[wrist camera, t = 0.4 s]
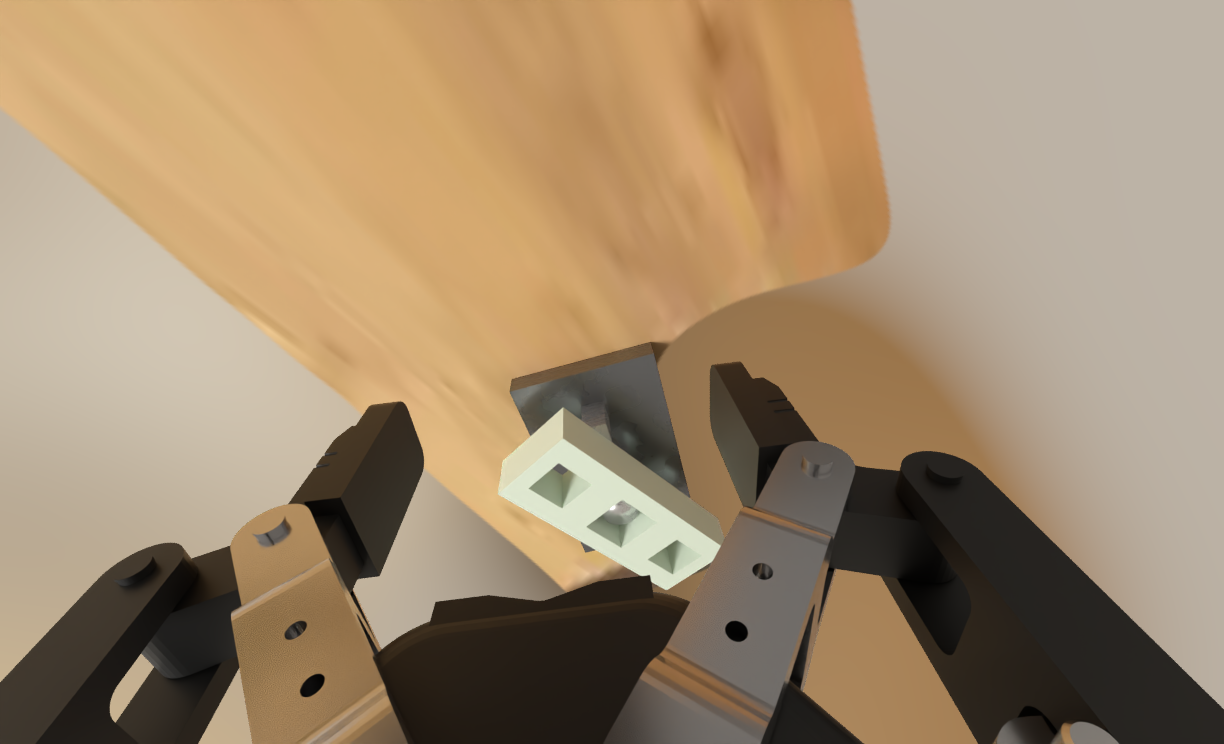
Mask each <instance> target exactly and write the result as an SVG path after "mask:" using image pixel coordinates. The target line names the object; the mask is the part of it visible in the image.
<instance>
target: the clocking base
mask: <svg viewBox="0 0 1224 744" xmlns="http://www.w3.org/2000/svg"><path fill="white" fill-rule="evenodd" d="M510 394H511V396H512V398H513V400H514V402H515V404H516V406H517V409H518V411H519V413H520V415H521V417H522V419H523V421H524V423H525V425H526V428H527V430H528V432H529V434H530V436H531V435H533V434H534V433H535V432H536V431H537V430H538V429H539V428H540V427H542V426H543V425H544V424H545V423H546V422H547V421H548V420H549V419H551V418H552V417H553V416H554V415H555V414H556V413H557V412H558V411H560V410H561V409H562V408H563V407H564V408H565V409H566V410H568V411H569V412H570V413H572V414H573V415H575V416H576V417H577V418H579V419H580V420H582V421H583V422H584V423H586V424H587V425H589V426H590V427H591V428H593V429H594V430H596V431H597V432H598V433H600V434H601V435H603V436H604V437H605V438H607V439H608V440H610V441H611V442H612V443H614V444H615V445H616V446H618V447H619V448H621V449H622V450H623V451H625V452H626V453H628V454H629V455H630V456H632V457H633V458H635V459H636V460H637V461H639V462H640V463H642V464H643V465H644V466H646V467H647V468H649V469H650V470H651V471H653V472H654V473H656V474H657V475H658V476H660V477H661V478H662V479H664V480H665V481H667V482H668V483H669V484H671V485H672V486H674V487H675V488H676V489H678V490H679V491H681V492H682V493H683V494H685V495H686V496H688V497H689V498H690V495H689V491H688V487H687V483H686V479H685V475H684V471H683V468H682V463H681V459H680V455H679V451H678V448H677V443H676V440H675V435H674V431H673V427H672V424H671V420H670V416H669V412H668V408H667V404H666V400H665V396H664V392H663V388H662V384H661V380H660V376H659V372H658V368H657V364H656V360H655V356H654V352H653V349H652V346H651V342H650V343H646V344H642V345H638V346H635V347H631V348H627V349H624V350H620V351H616V352H612V353H609V354H605V355H601V356H598V357H594V358H590V359H586V360H583V361H579V362H575V363H572V364H568V365H564V366H560V367H557V368H553V369H549V370H546V371H542V372H538V373H534V374H531V375H527V376H523V377H520V378H516V379H512V381H511V387H510ZM552 469H554V470H555V471H557V472H558V473H560V474H561V475H563V474H564V473H566V472H567V471H568V469H567V468H565V467H564V466H562V465H561V464H559V463H558V464H557V465H556V466H555V467H553V468H552ZM637 514H638V510H637V509H636V508H634V507H633V506H631V505H630V504H628V503H627V502H625V501H624V500H621V501H620V502H619V503H617V504H616V505H615V506H613V507H612V508H611V509H609V510H608V511H607V512H605V513H604V514H603V517H604V519H605V520H606V521H607V522H609V523H611V524H615V525H623V524H627V523H629V522H631V521H633V520H634V519H635V518H636V516H637ZM580 542H581V541H580ZM581 544H582V546H583V548H584V550H585V552H590V551H594V550H595V549H593V548H591V547H590V546H588V545H586V544H584V543H583V542H581Z"/></svg>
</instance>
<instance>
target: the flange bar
mask: <svg viewBox="0 0 1224 744" xmlns="http://www.w3.org/2000/svg"><path fill="white" fill-rule="evenodd" d="M558 463H559V464H561V465H562V466H564V467H565V468H567V469H568V471H567V472H566V473H564V474H563V475H561V474H560V473H558V472H557V471H555V470H554V469H552V468H553V467H555V466H556V465H557V464H558ZM498 495H500V496H502V497H503V498H505V499H507V500H509V501H510V502H512V503H514V504H516V505H517V506H519V507H521V508H523V509H525V510H526V511H528V512H530V513H532V514H533V515H535V516H537V517H539V518H540V519H542V520H544V521H546V522H547V523H549V524H551V525H553V526H554V527H556V528H558V529H560V530H561V531H563V532H565V533H567V534H568V535H570V536H572V537H574V538H575V539H577V540H579V541H581V542H583V543H584V544H586V545H588V546H590V547H591V548H593V549H595V550H597V551H598V552H600V553H602V554H604V555H605V556H607V557H609V558H611V559H612V560H614V561H616V562H618V563H619V564H621V565H623V566H625V567H626V568H628V569H630V570H632V571H633V572H635V573H637V574H639V575H641V576H646V575H650V577H651V582H653V583H655V584H656V585H658V586H660V587H662V588H664V589H665V590H667V589H669V588H671V587H672V586H674V585H676V584H677V583H679V582H680V581H682V580H683V579H685V578H687V577H688V576H690V575H691V574H693V573H694V572H696V571H698V570H699V569H701V568H702V567H704V566H706V565H707V564H709V563H710V562H712V561H713V559H714V558H715V556H716V554H717V552H718V550H719V548H720V547H721V545H722V543H723V541H724V536H723V533H722V530H721V527H720V524H719V521H718V518H717V517H715V516H714V515H713V514H711V513H710V512H708V511H707V510H706V509H704V508H703V507H701V506H700V505H699V504H697V503H696V502H694V501H693V500H692V499H690V498H689V497H688V496H686V495H685V494H683V493H682V492H681V491H679V490H678V489H676V488H675V487H674V486H672V485H671V484H669V483H668V482H667V481H665V480H664V479H662V478H661V477H660V476H658V475H657V474H656V473H654V472H653V471H651V470H650V469H649V468H647V467H646V466H644V465H643V464H642V463H640V462H639V461H637V460H636V459H635V458H633V457H632V456H630V455H629V454H628V453H626V452H625V451H623V450H622V449H621V448H619V447H618V446H616V445H615V444H614V443H612V442H611V441H610V440H608V439H607V438H605V437H604V436H603V435H601V434H600V433H598V432H597V431H596V430H594V429H593V428H591V427H590V426H589V425H587V424H586V423H584V422H583V421H582V420H580V419H579V418H577V417H576V416H575V415H573V414H572V413H570V412H569V411H568V410H566V409H565V408H564V407H563V408H562V409H561V410H560V411H558V412H557V413H556V414H555V415H554V416H553V417H552V418H551V419H549V420H548V421H547V422H546V423H545V424H544V425H543V426H542V427H540V428H539V429H538V430H537V431H536V432H535V433H534V434H533V435H531V436H530V437H529V438H528V439H527V440H526V441H525V442H524V443H522V444H521V445H520V446H519V447H518V448H517V449H516V450H515V451H513V452H512V453H511V454H510V455H509V456H508V457H507V458H506V459H504V460H503V464H502V471H501V477H500V483H499V489H498ZM621 500H624V501H625V502H627V503H628V504H630V505H631V506H633V507H634V508H636V509H637V510H638V514H637V516H636V518H635V519H634V520H633V521H631V522H629V523H627V524H623V525H615V524H611V523H609V522H607V521H606V520H605V519H604V517H603V514H604V513H605V512H607V511H608V510H609V509H611V508H612V507H613V506H615V505H616V504H617V503H619V502H620V501H621Z"/></svg>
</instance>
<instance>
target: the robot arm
mask: <svg viewBox="0 0 1224 744" xmlns="http://www.w3.org/2000/svg"><path fill="white" fill-rule="evenodd" d="M710 421H711V428H712V432H713V436H714V439H715V441H716V444H717V446H718V448H719V451H720V453H721V455H722V458H723V460H724V462H725V465H726V467H727V469H728V472H729V474H730V476H731V479H732V481H733V483H734V486H735V488H736V491H737V493H738V495H739V498H740V500H741V502H742V504H743V508H742V509H741V511H740V512H739V514H738V516H737V517H736V519H735V521H734V523H733V525H732V527H731V528H730V530H729V532H728V534H727V536H726V537H725V539H724V541H723V543H722V545H721V547H720V548H719V550H718V552H717V554H716V556H715V558H714V559H713V561H712V563H711V565H710V567H709V569H708V571H707V572H706V574H705V576H704V578H703V580H702V581H701V583H700V585H699V587H698V589H697V591H696V592H695V594H694V596H693V598H692V600H691V602H689V601H687V600H684V599H682V598H679V597H676V596H672V595H668V594H663V593H657V592H653V590H652V584H651V577H650V575H646V576H638V577H630V578H622V579H614V580H606V581H598V582H595V583H592V584H590V585H587V586H584V587H581V588H579V589H576V590H573V591H570V592H567V593H565V594H562V595H559V596H556V597H554V598H551V599H548V600H545V601H533V600H525V599H515V598H507V597H499V596H490V595H487V596H479V597H471V598H464V599H455V600H448V601H439V602H436V603H435V606H434V610H433V613H432V617H431V621H430V622H427V623H425V624H423V625H420V626H418V627H416V628H414V629H412V630H410V631H408V632H407V633H405V634H403V635H401V636H400V637H398V638H397V639H395V640H394V641H392V642H391V643H390V644H388V645H387V646H386V647H384V648H383V649H381V647H380V645H379V643H378V641H377V639H376V636H375V634H374V632H373V630H372V628H371V626H370V624H369V621H368V619H367V617H366V615H365V613H364V611H363V609H362V607H361V604H360V602H359V600H358V598H357V596H356V594H355V592H354V590H353V588H354V585H355V583H356V581H357V579H361V578H368V577H377V576H380V574H381V571H382V569H383V566H384V564H385V562H386V559H387V557H388V554H389V552H390V550H391V547H392V545H393V542H394V540H395V538H396V535H397V533H398V530H399V528H400V525H401V523H402V521H403V518H404V516H405V513H406V511H407V508H408V506H409V504H410V501H411V499H412V497H413V494H414V492H415V489H416V487H417V484H418V482H419V480H420V477H421V475H422V472H423V467H424V456H423V450H422V447H421V444H420V442H419V439H418V436H417V433H416V431H415V428H414V425H413V422H412V420H411V417H410V414H409V411H408V409H407V407H406V405H405V404H404V403H403V402H392V403H383V404H375V405H371V406H369V407H368V409H367V410H366V412H365V413H364V415H363V416H362V417H361V419H360V420H359V422H358V423H357V425H356V426H351V427H350V428H349V429H347V430H346V431H345V432H344V433H342V434H341V435H340V436H338V437H337V438H336V439H335V440H334V441H333V442H332V444H331V445H330V447H329V448H328V449H327V451H326V452H325V456H323V457H322V458H321V459H320V461H319V462H318V463H317V465H316V466H317V467H316V468H314V469H313V470H312V472H311V473H310V474H309V476H308V477H307V479H306V480H305V482H304V483H303V484H302V486H301V487H300V488H299V490H298V491H297V492H296V494H295V495H294V497H293V498H292V500H291V501H290V502H289V504H287V505H283V506H279V507H276V508H273V509H271V510H268V511H266V512H264V513H262V514H260V515H258V516H257V517H255V518H254V519H252V520H251V521H249V522H248V523H247V524H246V525H245V526H243V527H242V528H241V529H240V530H239V531H238V532H237V534H236V535H235V537H234V538H233V540H232V542H231V545H230V546H228V547H225V548H222V549H219V550H216V551H213V552H210V553H207V554H204V555H201V556H198V557H195V558H192V559H191V558H190V556H189V555H188V554H187V552H186V551H185V550H184V548H183V547H182V546H181V545H179V544H177V543H163V544H158V545H154V546H151V547H148V548H146V549H143V550H141V551H138V552H136V553H134V554H132V555H130V556H129V557H127V558H125V559H124V560H122V561H120V562H119V563H117V564H116V565H114V566H113V567H111V568H110V569H109V570H108V571H106V572H105V573H104V574H103V575H102V576H101V577H100V578H99V579H98V580H97V581H96V582H95V583H94V584H93V585H92V586H91V587H90V588H89V589H88V590H87V592H86V593H84V594H83V596H82V597H81V598H80V599H79V600H78V601H77V602H76V603H75V604H74V605H73V606H72V607H71V608H70V609H69V611H68V612H66V614H65V615H64V616H63V617H62V618H61V619H60V620H59V621H58V622H57V623H56V624H55V625H54V626H53V627H52V628H51V629H50V630H49V632H48V633H47V634H46V635H45V636H44V637H43V638H42V639H41V640H40V641H39V642H38V643H37V644H36V645H35V646H34V647H33V648H32V649H31V651H30V652H29V653H28V654H27V655H26V656H25V657H24V658H23V659H22V660H21V661H20V662H19V663H18V664H17V665H16V666H15V668H14V669H13V670H12V671H11V672H10V673H9V674H8V675H7V676H6V677H5V678H4V679H3V680H2V681H1V682H0V744H198V743H199V741H200V739H201V737H202V735H203V734H204V732H205V730H206V728H207V726H208V724H209V722H210V721H211V719H212V717H213V715H214V713H215V711H216V709H217V708H218V706H219V704H220V702H221V700H222V698H223V697H224V695H225V693H226V691H227V689H228V687H229V686H230V684H231V682H232V680H233V678H234V676H235V674H236V673H237V671H238V669H239V668H240V673H241V679H242V685H243V691H244V697H245V703H246V708H247V714H248V720H249V726H250V732H251V737H252V743H253V744H864V743H862V742H861V741H860V740H859V739H858V738H856V737H855V736H854V735H853V734H852V733H851V732H850V731H848V730H847V729H846V728H845V727H843V725H841V724H840V723H839V722H838V721H837V720H835V719H834V718H833V717H832V716H831V715H830V714H828V713H827V712H826V711H825V710H824V709H823V708H821V707H820V706H819V705H818V704H817V703H815V702H814V701H813V700H812V699H811V698H810V697H809V696H807V695H806V694H805V693H804V692H803V689H804V685H805V682H806V678H807V674H808V670H809V666H810V662H811V658H812V653H813V649H814V645H815V641H816V637H817V634H818V631H819V627H820V624H821V620H822V617H823V613H824V610H825V607H826V603H827V600H828V596H829V593H830V590H831V586H832V583H833V579H834V576H835V572H836V569H841V570H848V571H854V572H861V573H867V574H873V575H880V576H881V577H882V579H883V581H884V582H885V584H886V586H887V587H888V589H889V591H890V593H891V594H892V596H893V598H894V600H895V601H896V603H897V605H898V606H899V608H900V610H901V612H902V613H903V615H904V617H905V619H906V620H907V622H908V624H909V625H910V627H911V629H912V631H913V632H914V634H915V636H916V637H917V639H918V641H919V643H920V644H921V646H922V648H923V649H924V651H925V653H926V655H927V656H928V658H929V660H930V662H931V663H932V665H933V667H934V668H935V670H936V672H937V674H938V675H939V677H940V679H941V681H942V682H943V684H944V686H945V687H946V689H947V691H948V692H949V694H950V696H951V697H952V699H953V701H954V703H955V705H956V706H957V708H958V710H959V712H960V713H961V715H962V717H963V718H964V720H965V722H966V723H967V725H968V727H969V729H970V730H971V732H972V734H973V736H974V737H975V739H976V741H977V742H978V744H1224V709H1223V708H1222V707H1221V706H1220V705H1219V704H1217V702H1216V701H1215V700H1214V699H1212V697H1210V696H1209V694H1207V693H1206V692H1205V691H1204V690H1203V689H1202V688H1201V687H1200V686H1199V685H1198V684H1197V683H1196V682H1195V681H1194V680H1193V679H1192V678H1191V677H1190V676H1189V675H1188V674H1187V673H1186V672H1185V671H1184V670H1183V669H1182V668H1181V667H1180V666H1179V665H1178V664H1177V663H1176V662H1175V661H1174V660H1173V659H1172V658H1171V657H1169V655H1168V654H1167V653H1166V652H1165V651H1163V649H1162V648H1161V647H1160V646H1159V645H1157V644H1156V643H1155V642H1154V641H1153V640H1152V639H1151V638H1150V637H1149V636H1148V635H1147V634H1146V633H1145V632H1144V631H1143V630H1142V629H1141V628H1140V627H1139V626H1138V625H1137V624H1136V623H1135V622H1134V621H1133V620H1132V619H1131V618H1130V617H1129V616H1128V615H1127V614H1126V613H1125V612H1124V611H1123V610H1122V609H1121V608H1120V607H1119V606H1118V605H1117V604H1116V603H1115V602H1114V601H1113V600H1112V599H1111V598H1109V597H1108V595H1107V594H1106V593H1105V592H1103V591H1102V590H1101V589H1100V588H1099V587H1098V586H1097V585H1096V584H1095V583H1094V582H1093V581H1092V580H1091V579H1090V578H1089V577H1088V576H1087V575H1086V574H1085V573H1084V572H1083V571H1082V570H1081V569H1080V568H1079V567H1078V566H1077V565H1076V564H1075V563H1074V562H1073V561H1072V560H1071V559H1070V558H1069V557H1068V556H1067V555H1066V554H1065V553H1064V552H1063V551H1062V550H1061V549H1060V548H1059V547H1058V546H1057V545H1056V544H1055V543H1053V542H1052V541H1051V540H1050V539H1049V538H1048V537H1047V536H1046V535H1045V534H1044V533H1043V532H1042V531H1041V530H1040V529H1039V528H1038V527H1037V526H1036V525H1035V524H1034V523H1033V522H1032V521H1031V520H1030V519H1029V518H1028V517H1027V516H1026V515H1025V514H1024V513H1023V512H1022V511H1021V510H1020V509H1019V508H1018V507H1017V506H1016V505H1015V504H1014V503H1013V502H1012V501H1011V500H1010V499H1009V498H1008V497H1007V496H1006V495H1005V494H1004V493H1003V492H1001V491H1000V489H999V488H997V487H996V486H995V485H994V484H993V483H992V482H991V481H990V480H989V479H988V478H987V477H986V476H985V475H984V474H983V473H982V472H981V471H980V470H979V469H978V468H976V467H975V466H973V465H972V464H971V463H969V462H967V461H965V460H963V459H960V458H958V457H956V456H953V455H949V454H945V453H941V452H933V451H922V452H916V453H912V454H910V455H908V456H906V457H905V458H904V459H903V461H902V463H901V467H900V471H894V470H885V469H874V468H866V467H860V466H855V464H854V462H853V460H852V459H851V457H850V456H849V455H848V454H847V453H845V452H844V451H843V450H841V449H839V448H837V447H835V446H833V445H830V444H827V443H823V442H819V441H818V440H817V438H816V437H815V436H814V434H813V433H812V432H811V430H810V429H809V427H808V426H807V425H806V423H805V422H804V421H803V419H802V418H801V417H800V415H799V414H798V412H797V411H795V410H794V407H793V406H792V404H791V403H790V402H789V401H787V397H786V396H785V395H784V393H783V392H782V391H781V389H780V388H779V387H778V386H776V385H775V384H773V383H771V382H770V381H768V380H766V379H765V378H755V379H752V378H751V376H750V374H749V373H748V371H747V370H746V368H745V367H744V365H743V364H742V363H741V362H732V363H724V364H717V365H716V364H715V365H712V366H711V369H710ZM140 654H142V655H143V656H144V657H145V658H146V659H147V660H148V661H149V662H150V663H151V664H152V665H153V666H154V668H153V670H152V671H151V673H150V674H149V675H148V677H147V678H146V680H145V681H144V683H143V684H142V685H141V687H140V688H139V690H138V691H137V693H136V694H135V696H134V697H133V698H132V700H131V701H130V703H129V704H128V706H127V707H126V709H125V710H124V711H123V713H122V714H121V716H120V717H119V719H118V720H117V722H116V723H115V722H114V721H113V720H112V718H111V716H110V701H111V698H112V695H113V692H114V690H115V689H116V687H117V685H118V684H119V683H120V681H121V680H122V678H123V677H124V676H125V674H126V673H127V672H128V670H129V669H130V668H131V666H132V665H133V664H134V662H135V661H136V660H137V658H138V657H139V655H140Z"/></svg>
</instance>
